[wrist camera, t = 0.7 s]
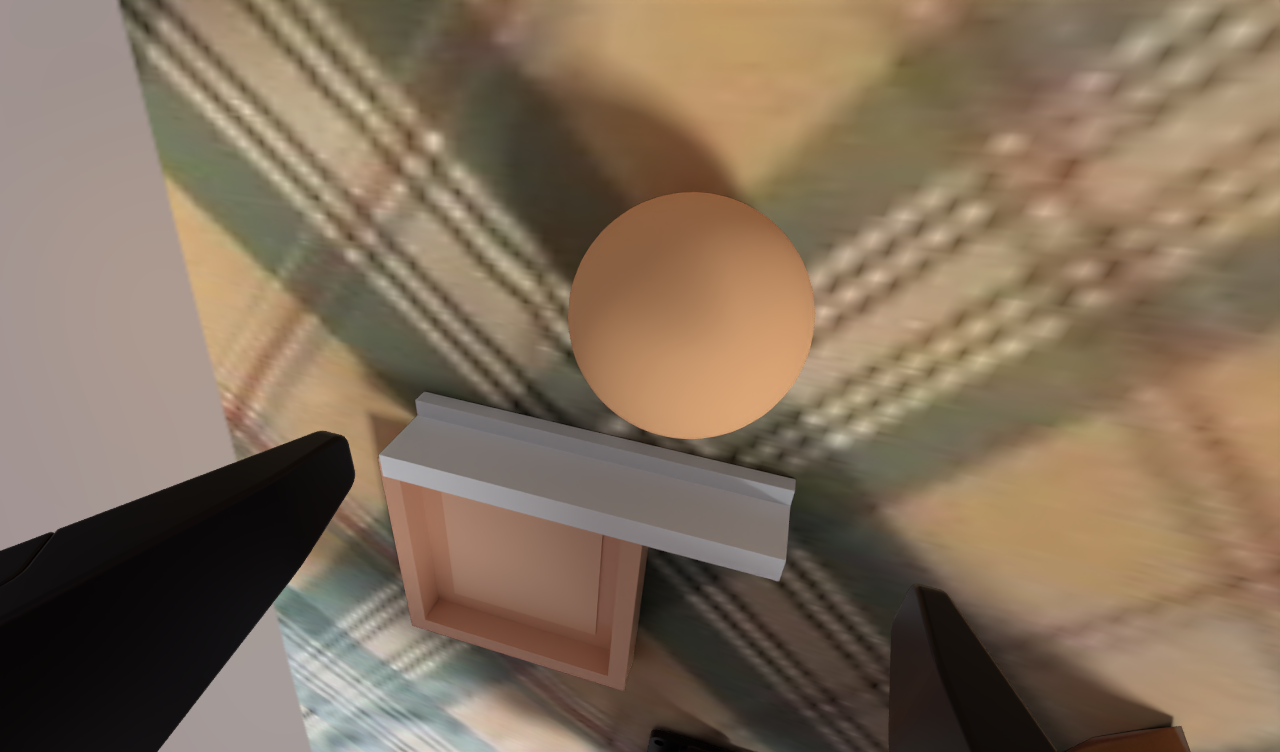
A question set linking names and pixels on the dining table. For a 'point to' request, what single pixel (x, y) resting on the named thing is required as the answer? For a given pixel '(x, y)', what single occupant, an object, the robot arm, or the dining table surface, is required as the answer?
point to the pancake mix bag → (1138, 742)
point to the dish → (518, 582)
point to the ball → (691, 315)
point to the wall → (597, 483)
